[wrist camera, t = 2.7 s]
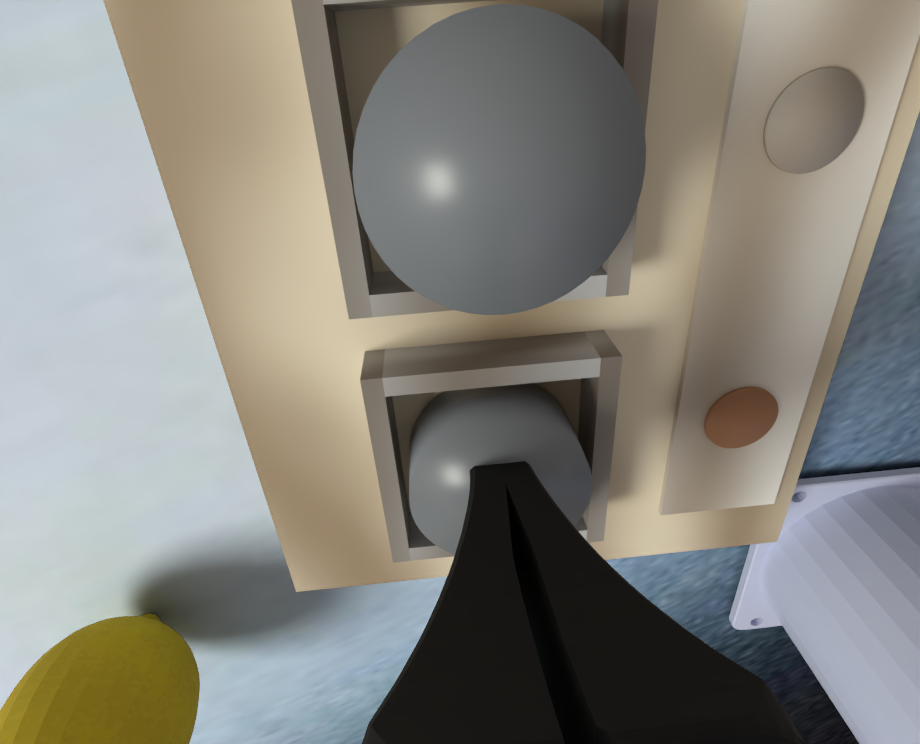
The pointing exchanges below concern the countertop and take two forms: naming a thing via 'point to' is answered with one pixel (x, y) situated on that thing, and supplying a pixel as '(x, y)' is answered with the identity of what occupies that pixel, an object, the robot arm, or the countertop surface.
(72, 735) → the lemon
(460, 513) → the button
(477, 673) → the robot arm
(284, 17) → the button board
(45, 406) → the countertop surface
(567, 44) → the button mid
